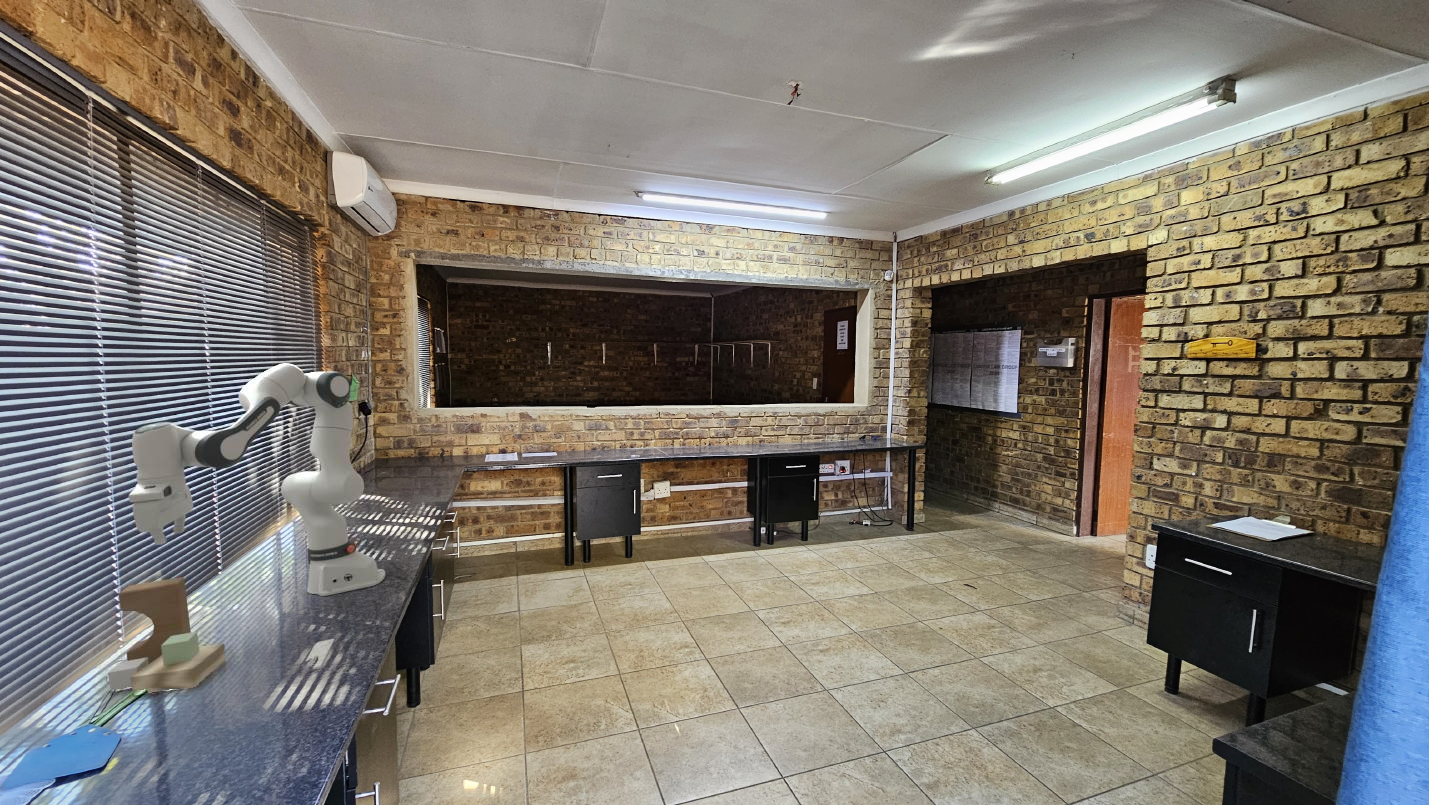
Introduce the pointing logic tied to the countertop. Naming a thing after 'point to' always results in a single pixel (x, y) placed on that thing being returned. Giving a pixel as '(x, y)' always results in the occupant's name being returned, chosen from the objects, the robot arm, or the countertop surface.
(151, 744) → the countertop surface
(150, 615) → the decorative block
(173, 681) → the pale maple block
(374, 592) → the countertop surface
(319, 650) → the white plastic strip tool
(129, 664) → the grey plastic cube
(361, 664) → the countertop surface
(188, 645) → the sage green cube
